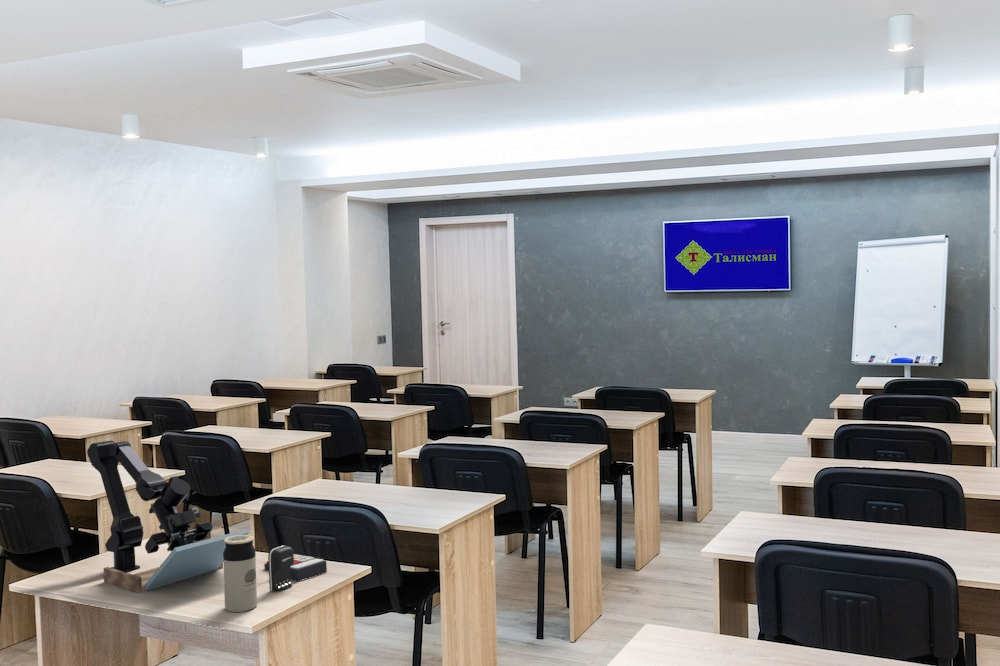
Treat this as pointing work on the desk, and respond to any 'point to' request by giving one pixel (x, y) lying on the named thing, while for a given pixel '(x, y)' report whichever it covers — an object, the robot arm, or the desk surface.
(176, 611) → the desk surface
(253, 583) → the travel mug
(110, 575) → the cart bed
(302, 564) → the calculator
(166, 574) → the panel
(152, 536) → the robot arm
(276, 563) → the battery charger
